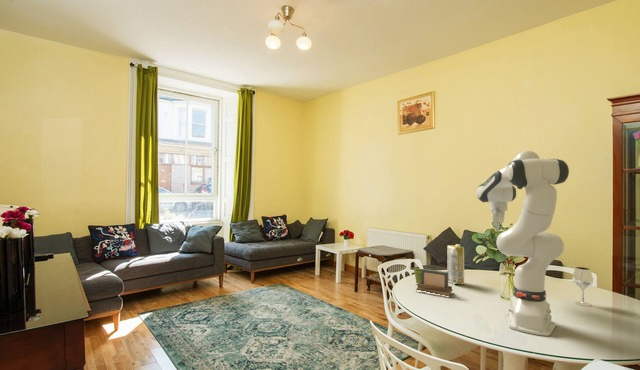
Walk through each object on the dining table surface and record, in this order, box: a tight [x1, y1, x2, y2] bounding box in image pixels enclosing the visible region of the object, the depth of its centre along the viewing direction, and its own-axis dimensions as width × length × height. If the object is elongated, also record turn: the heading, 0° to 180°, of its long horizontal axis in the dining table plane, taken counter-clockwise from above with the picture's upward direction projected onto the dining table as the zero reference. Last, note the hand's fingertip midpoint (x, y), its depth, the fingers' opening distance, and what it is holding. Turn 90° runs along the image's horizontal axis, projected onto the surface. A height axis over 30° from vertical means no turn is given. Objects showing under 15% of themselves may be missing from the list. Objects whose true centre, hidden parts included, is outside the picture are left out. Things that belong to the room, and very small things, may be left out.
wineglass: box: [572, 266, 594, 307], centre depth 164 cm, size 8×8×18 cm
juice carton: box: [446, 243, 465, 285], centre depth 200 cm, size 9×8×24 cm
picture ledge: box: [416, 281, 453, 297], centre depth 181 cm, size 10×17×4 cm, turn 56°
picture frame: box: [421, 268, 449, 288], centre depth 181 cm, size 3×14×10 cm, turn 56°
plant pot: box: [413, 268, 423, 284], centre depth 196 cm, size 9×9×9 cm
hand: (498, 232), depth 180 cm, fingers open, 8 cm apart
